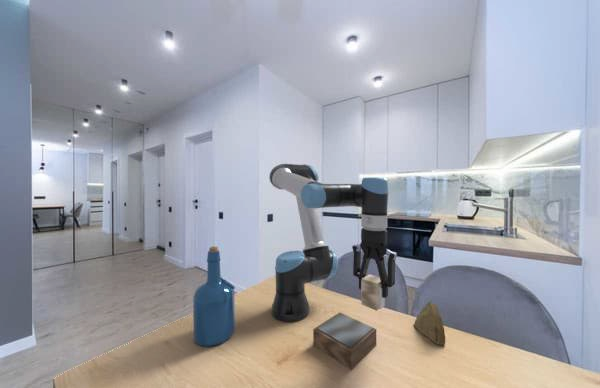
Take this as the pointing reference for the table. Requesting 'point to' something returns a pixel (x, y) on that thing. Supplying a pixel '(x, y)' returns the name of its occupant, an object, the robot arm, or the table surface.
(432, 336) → the rock
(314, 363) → the table surface
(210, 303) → the wine bottle
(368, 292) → the beech block
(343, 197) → the robot arm
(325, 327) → the walnut plinth
